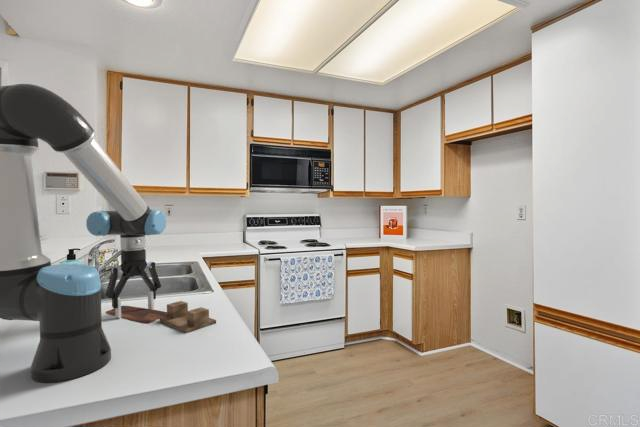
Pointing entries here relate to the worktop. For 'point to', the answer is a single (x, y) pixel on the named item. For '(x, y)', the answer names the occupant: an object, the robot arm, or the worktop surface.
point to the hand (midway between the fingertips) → (135, 312)
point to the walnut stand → (186, 317)
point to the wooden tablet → (139, 314)
